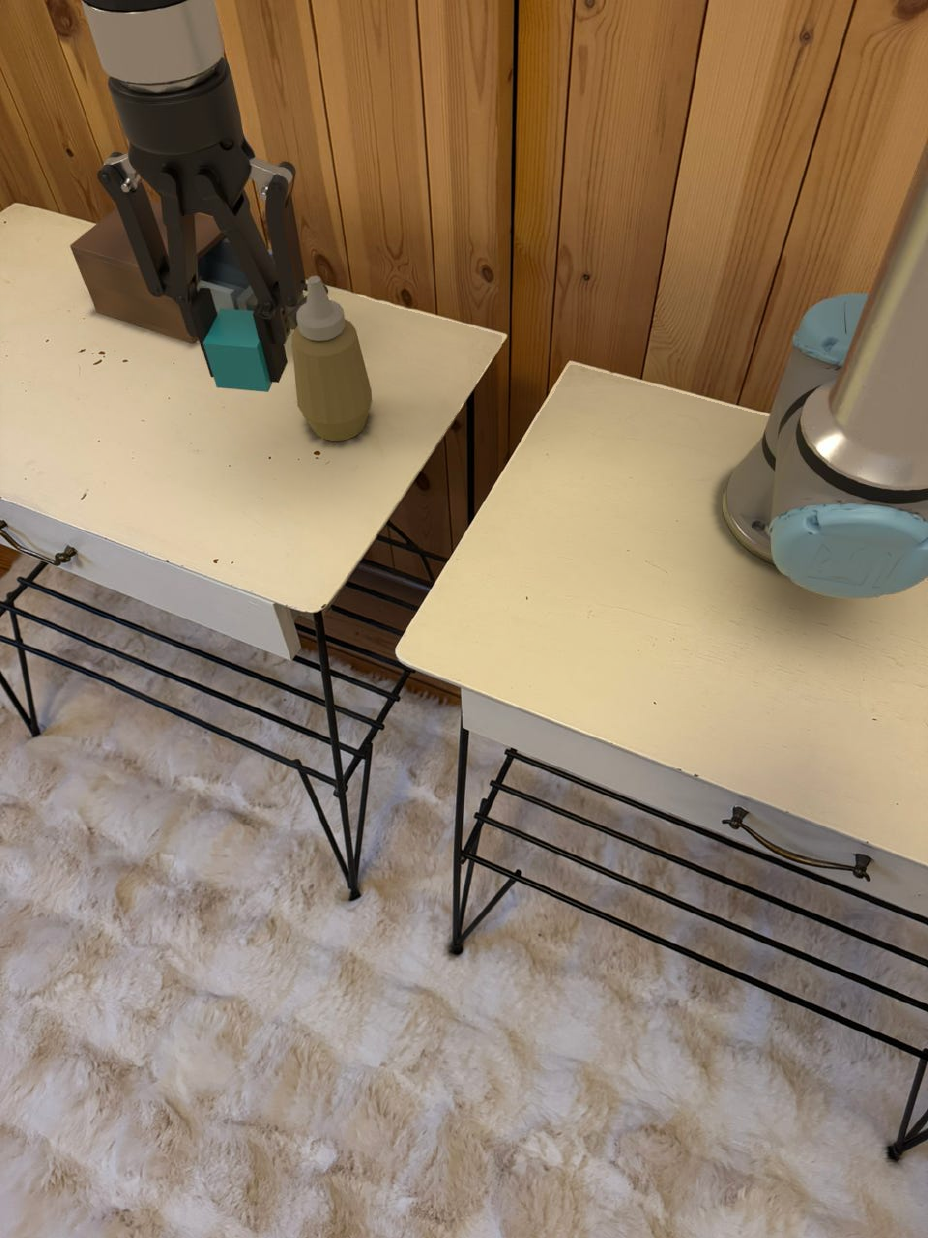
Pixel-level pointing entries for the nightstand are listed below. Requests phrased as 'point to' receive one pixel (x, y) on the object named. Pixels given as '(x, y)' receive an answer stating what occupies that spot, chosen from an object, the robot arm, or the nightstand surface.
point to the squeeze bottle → (329, 368)
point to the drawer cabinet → (133, 273)
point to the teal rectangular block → (236, 352)
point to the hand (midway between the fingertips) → (249, 368)
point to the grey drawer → (233, 281)
